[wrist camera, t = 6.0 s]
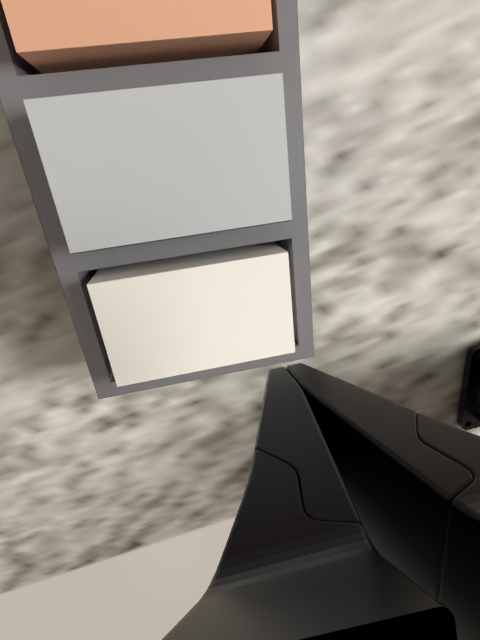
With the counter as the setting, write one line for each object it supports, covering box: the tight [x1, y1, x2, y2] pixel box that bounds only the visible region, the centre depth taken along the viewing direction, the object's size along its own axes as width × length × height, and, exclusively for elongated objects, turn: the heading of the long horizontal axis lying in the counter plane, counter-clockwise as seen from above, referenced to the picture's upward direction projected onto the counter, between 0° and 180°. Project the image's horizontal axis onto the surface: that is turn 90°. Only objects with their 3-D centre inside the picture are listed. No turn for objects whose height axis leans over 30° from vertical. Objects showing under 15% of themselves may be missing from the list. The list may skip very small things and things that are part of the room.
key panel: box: [0, 0, 314, 399], centre depth 15 cm, size 18×10×4 cm, turn 7°
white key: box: [87, 241, 295, 387], centre depth 16 cm, size 4×8×3 cm, turn 97°
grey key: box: [23, 73, 292, 253], centre depth 13 cm, size 4×8×3 cm, turn 97°
